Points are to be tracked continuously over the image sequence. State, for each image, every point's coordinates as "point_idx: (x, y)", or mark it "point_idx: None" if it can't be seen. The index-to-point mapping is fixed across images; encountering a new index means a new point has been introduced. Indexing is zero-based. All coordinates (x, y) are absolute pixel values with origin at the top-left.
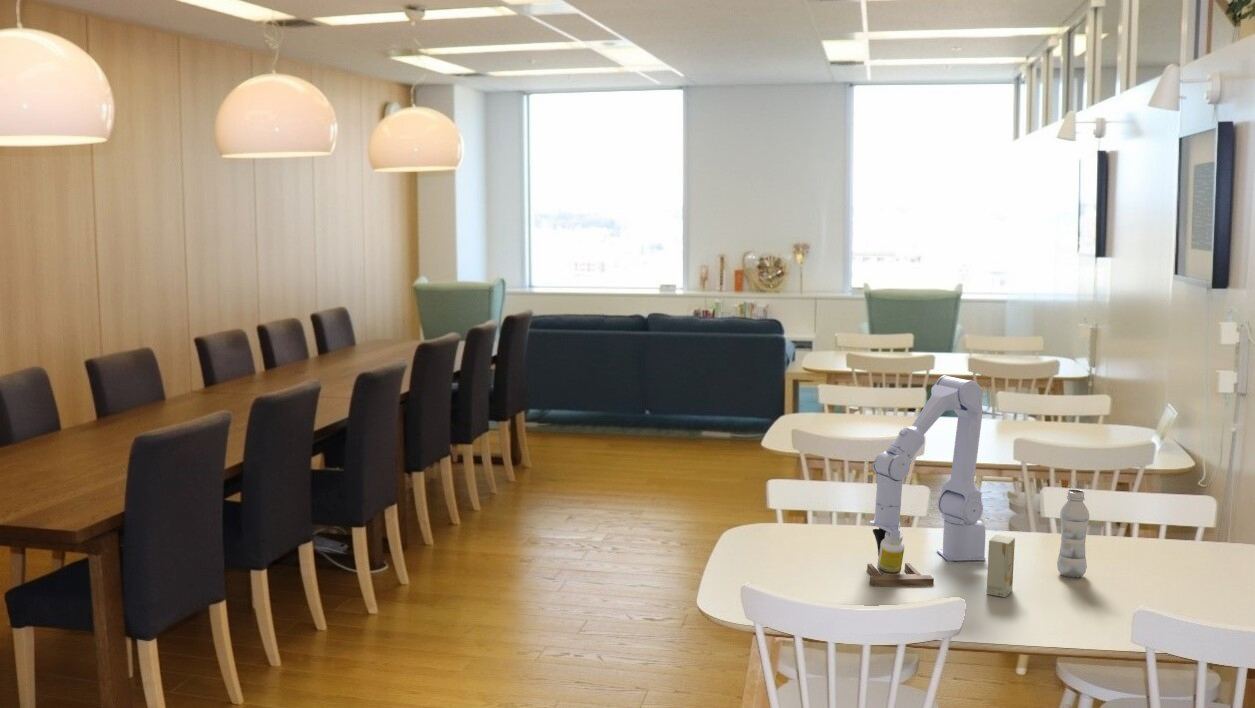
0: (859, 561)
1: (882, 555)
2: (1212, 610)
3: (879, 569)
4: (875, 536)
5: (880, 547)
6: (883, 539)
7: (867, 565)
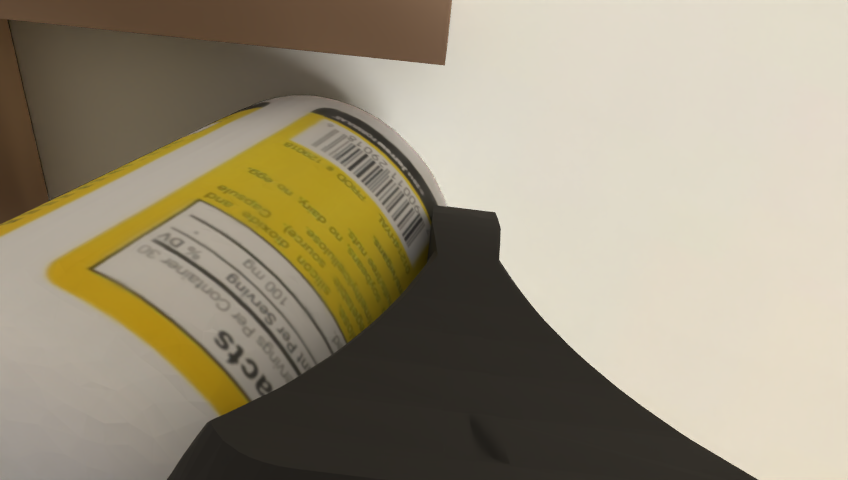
0: (838, 24)
1: (63, 195)
2: None
3: (263, 101)
4: (571, 412)
5: (60, 253)
6: (58, 466)
7: None
